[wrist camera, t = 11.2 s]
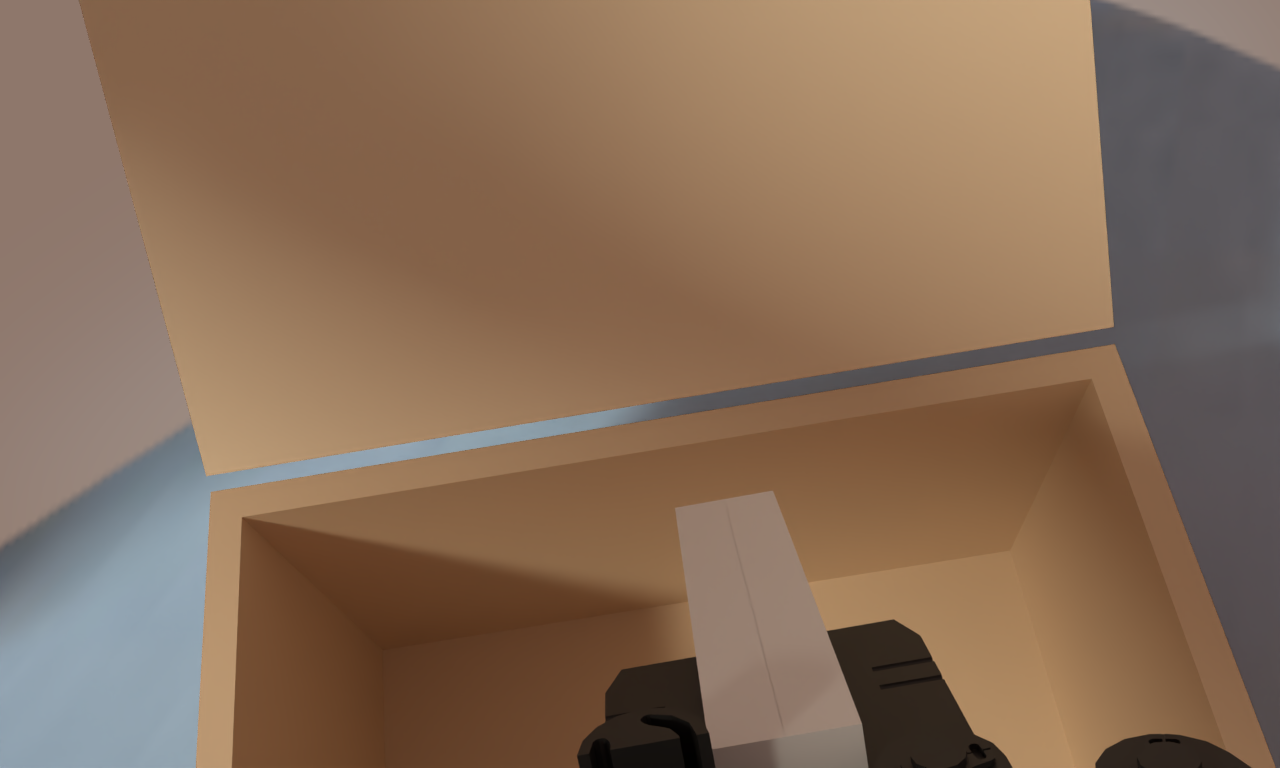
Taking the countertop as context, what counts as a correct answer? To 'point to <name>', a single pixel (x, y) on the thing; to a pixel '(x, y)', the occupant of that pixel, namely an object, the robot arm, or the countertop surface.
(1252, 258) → the countertop surface
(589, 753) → the robot arm
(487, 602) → the carton
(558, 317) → the carton lid
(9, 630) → the countertop surface
